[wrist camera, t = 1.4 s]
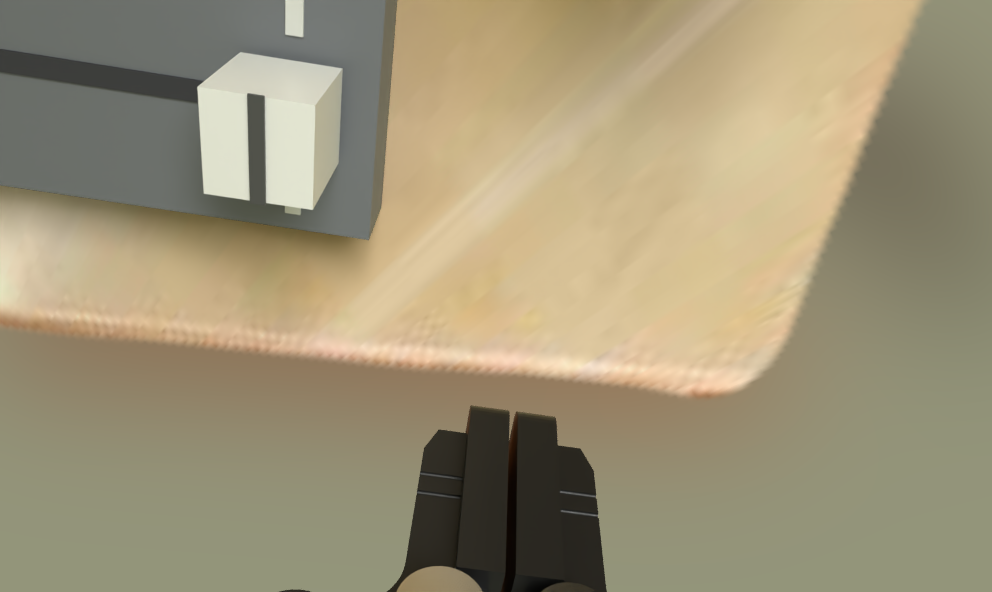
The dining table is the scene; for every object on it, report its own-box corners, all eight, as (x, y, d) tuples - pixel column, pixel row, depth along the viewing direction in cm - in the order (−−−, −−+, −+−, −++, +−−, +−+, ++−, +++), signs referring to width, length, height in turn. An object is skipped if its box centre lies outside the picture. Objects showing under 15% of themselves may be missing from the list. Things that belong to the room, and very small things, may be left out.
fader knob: (240, 50, 26) (196, 86, 22) (342, 67, 26) (314, 104, 23) (243, 149, 28) (202, 196, 24) (338, 163, 28) (312, 213, 24)
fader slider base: (-174, -139, 26) (-252, -134, 24) (400, -42, 27) (386, -28, 25) (-98, 135, 31) (-154, 163, 29) (381, 207, 33) (368, 241, 30)
